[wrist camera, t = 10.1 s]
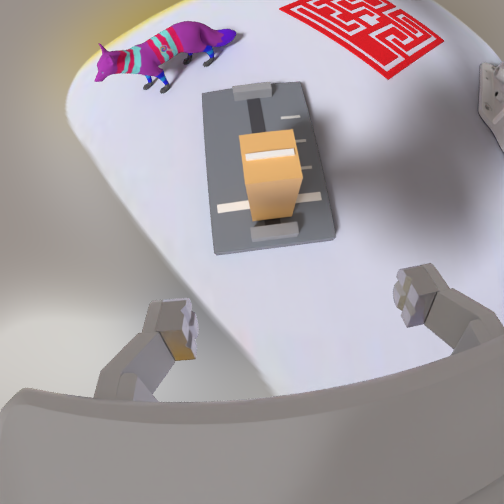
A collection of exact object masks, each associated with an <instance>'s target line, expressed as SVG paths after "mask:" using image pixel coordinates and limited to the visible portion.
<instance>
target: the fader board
mask: <svg viewBox="0 0 504 504" xmlns="http://www.w3.org/2000/svg"><path fill="white" fill-rule="evenodd" d="M202 107H203V124H204V140H205V154H206V168H207V181H208V193H209V204H210V215H211V226H212V236H213V246H214V253H215V254H216V255H223V254H231V253H239V252H246V251H254V250H262V249H269V248H277V247H285V246H293V245H300V244H308V243H316V242H323V241H331V240H333V239H335V238H336V235H335V229H334V224H333V218H332V213H331V208H330V202H329V197H328V193H327V188H326V183H325V178H324V174H323V169H322V165H321V160H320V156H319V152H318V147H317V143H316V139H315V135H314V131H313V127H312V123H311V120H310V116H309V112H308V108H307V105H306V101H305V98H304V94H303V91H302V87H301V84H300V82H287V83H275V84H271V83H270V82H264V83H255V84H247V85H239V86H232V89H225V90H219V91H213V92H207V93H202ZM290 129H293V132H294V137H295V142H296V146H297V151H298V156H299V161H300V166H301V171H302V176H303V179H302V182H301V186H300V189H299V193H298V196H297V200H296V203H295V207H294V210H293V214H292V217H284V218H276V219H268V220H260V221H252V216H251V211H250V206H249V201H248V196H247V191H246V186H245V179H244V172H243V164H242V156H241V148H240V140H239V135H246V134H253V133H261V132H270V131H280V130H290Z"/></svg>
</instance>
